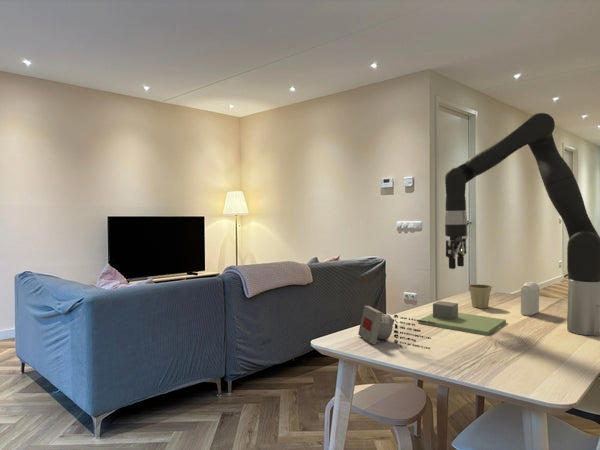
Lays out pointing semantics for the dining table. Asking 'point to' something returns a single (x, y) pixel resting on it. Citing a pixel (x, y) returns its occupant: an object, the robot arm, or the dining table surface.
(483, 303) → the flower pot
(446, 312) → the block
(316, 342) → the dining table surface
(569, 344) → the dining table surface
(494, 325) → the board
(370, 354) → the dining table surface
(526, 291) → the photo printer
